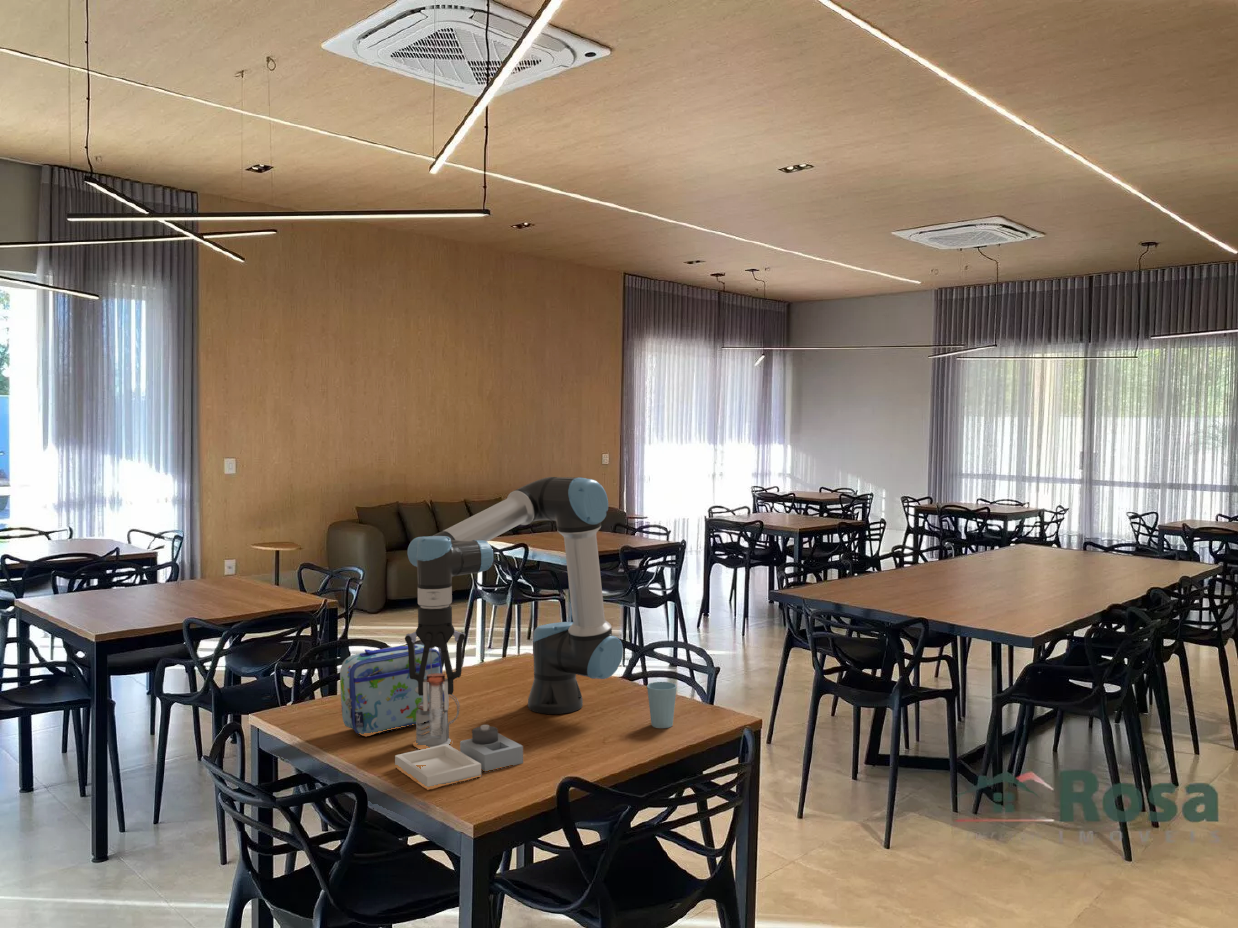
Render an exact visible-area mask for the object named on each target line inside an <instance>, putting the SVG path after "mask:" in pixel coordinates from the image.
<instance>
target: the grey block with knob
mask: <svg viewBox="0 0 1238 928" xmlns="http://www.w3.org/2000/svg"><path fill="white" fill-rule="evenodd" d="M471 736H472V737H471V738H467V739H463V740H460V741H459V746H460V747H459V751H460V752H462V753H463V754H465V755H467V756H469V757H470V758H472V759H474V760H475V761H477V762H479V763H481V769H482V770H484V771H488V770H493V769H496V768H500V767H505V766H509V765H513V766H516V765H521V764H524V745H522V744H521V743H518V742H516V741H514V740H512V739H510V738H509V737H506V736H504V735H502V734H501V733H499V729H498V728H497V727H496V726H490V725H489V724H481V725H480V726H477V727H475V728H473V729H472V730H471ZM509 767H510V766H509ZM505 768H506V767H505ZM482 770H481V771H482ZM493 771H494V770H493Z"/></svg>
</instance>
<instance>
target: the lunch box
mask: <svg viewBox="0 0 1238 928" xmlns="http://www.w3.org/2000/svg"><path fill="white" fill-rule="evenodd" d="M414 645H415V662H416V673H419V671H420V665H421V660H422V655H423V649H424V644H418V643H414ZM441 659H442V658H441V654H440V651H438V650H437V649H436V648H431V653H430V650H429V655H428V660H427V665H426V670H425V676H424V679H427V675H429V674H431V661H432V674H433V673H442V674H443V669H442V667H443V666H442V660H441ZM339 673H340V674H339V679H340V681H339V682H340V685H339V686H340V704H341V705H340V706H341V717H342V720H343V721H342V722H343V724H344V726H346V727H347V728H350V729H351V728H352V729H351V730H354V732H355V734H357V733H358V734H359V733H361V734H364V733H371V732H372V733H373V732H378V731H383V730H387V729H391V728H395V727H401V726H407V725H412V724H416V711H417V710H418V709H419V708H418V707H417V705H418V704H419V703H422V702H423V695H422V696H419V694H418V693H416V692H415V688H417V687H418V681H417V680H414V679H410V674H409V656H408V645H407V644H405V645H404V644H403V645H397V646H391V647H383V648H380V649H374V650H371V649H365V648H364V652H359V653H356V654H355V653H354V654H352V655H350V656H348V657H347V658H345V659H344V660H343V661H342V664H341V666H340V671H339ZM428 701H429V695H428ZM443 701H444V693H443ZM426 716H429V715H426ZM428 722H430V720H429V721H426V723H428ZM358 734H357V735H358Z"/></svg>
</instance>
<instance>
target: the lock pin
mask: <svg viewBox="0 0 1238 928" xmlns="http://www.w3.org/2000/svg"><path fill="white" fill-rule="evenodd" d="M445 674H446V673H443V672H442V673H433V674H429V675H427V682H428V683H429V717H430V721H429V722H430V726H429V727H430V731H429V732H430V735H432V736H438V735H442V734H443V713H444V712H443V684H444V681H445V678H446V675H445Z"/></svg>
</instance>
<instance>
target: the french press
mask: <svg viewBox="0 0 1238 928" xmlns="http://www.w3.org/2000/svg"><path fill="white" fill-rule="evenodd" d="M432 649H436V647H433V648H432ZM430 653H431V648H430ZM431 674H432V661H431ZM415 692H416V693H418V687H417V688H415ZM443 693H444V683H443ZM428 695H429V683H428ZM449 698H451V699H452V700H453V701H454V703H455V704H456V714H455V715H456V716H455V717H454V719H451V720H450V721H449V718H448V716H449V714H448V713H449V711H448V710H449V709H448V710H445V702H444V701H443V734H442V735H438V736H432V735H430V721H429V720H430V717H429V716H426V715H429V701H428V709H427V711H423V702H422V703H419V704H418V705H417V707H418V708H419V709H418V710H417V711H416V725H415V731H416V732H415V734H416V735H415V737H416V740H415V741H416V743H418V744H417V745H426V746H428V747H435V746H439V745H444V744H448V745H449V744H450V742H451V740H452V739H450V725H451V724H453V723H455V721H456V720H457V718H458V717H459V714H460V701H459V700H458V698H457V697H456V696H455V695H454V694H449ZM426 721H428V722H426ZM424 722H426V723H424Z"/></svg>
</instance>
